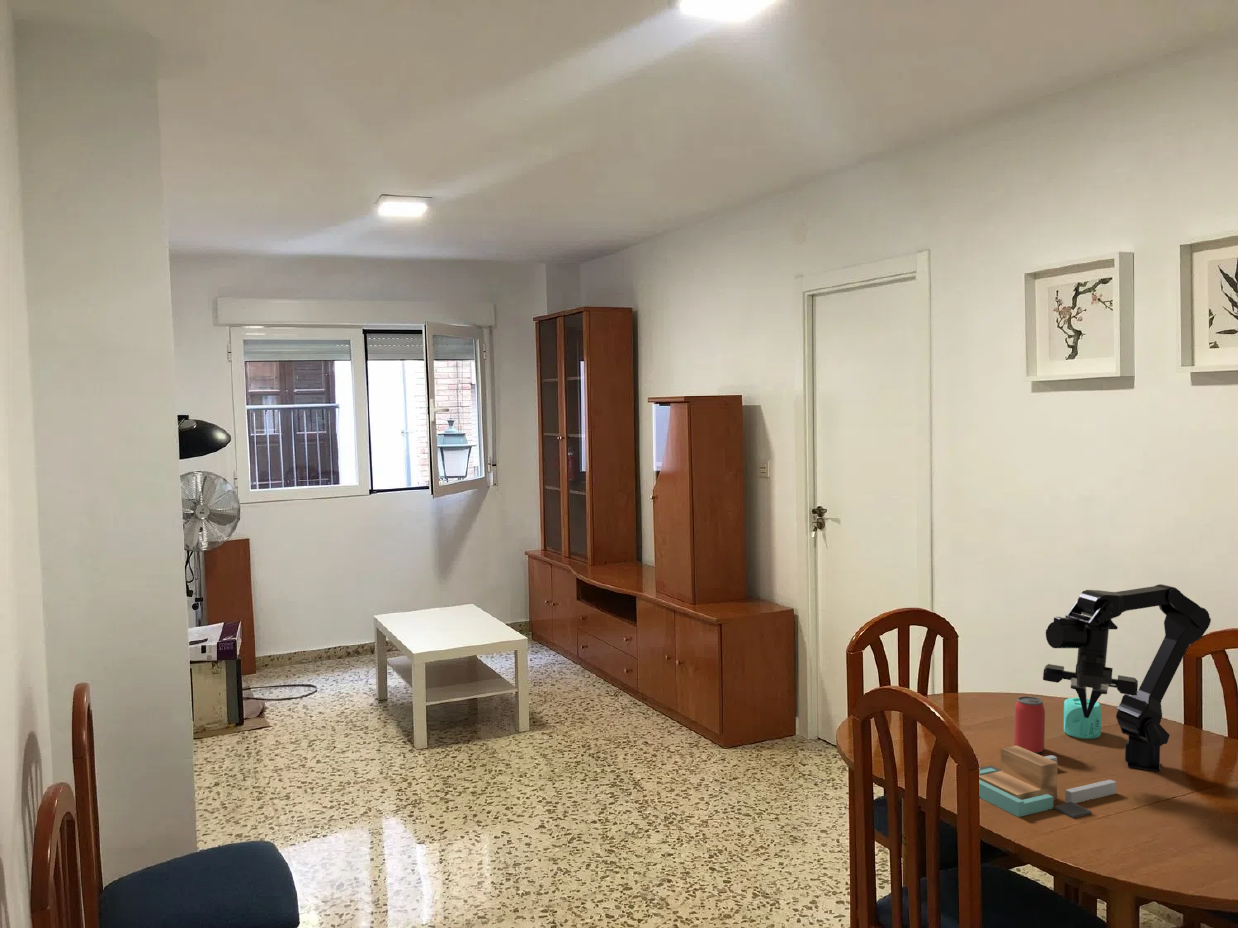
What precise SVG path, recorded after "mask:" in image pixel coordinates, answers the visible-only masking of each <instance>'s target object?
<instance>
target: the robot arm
mask: <svg viewBox="0 0 1238 928" xmlns="http://www.w3.org/2000/svg"><path fill="white" fill-rule="evenodd" d="M1153 607H1158V608H1159V610H1160V611H1161V612H1162V613H1163V614H1164V615H1165V617H1164V621H1163V627H1164V638H1163V640H1162V642H1161V644H1160V645H1159V648H1158V650H1157V652H1156V654H1155V655H1154V658H1153V660H1152V662H1151V664H1150V666H1149V668H1148V670H1147V672H1146V674H1145V676H1144V678H1143V680H1142V683H1141V684H1140V686H1139V684H1138V683H1139V682H1138V680H1137V678H1135V677H1130V676H1125V675H1120V674H1118V675H1117V678H1113V670H1114V669H1113V667H1107V665H1106V664H1107V653H1108V643H1109V642H1108V641H1109V631H1110V630H1118V628H1119V627H1118V626H1117V624H1115V622H1114V621H1113V620H1112V619H1115V618H1118V617H1120V616H1121V615H1122V614H1123V613H1125V612H1129V611H1133V610H1135V611H1136V610H1141V609H1147V608H1153ZM1211 621H1212V619H1211V617H1210V613H1209V611H1208V610H1207V609H1206V608H1204V607H1202V606H1200V605H1199V604H1198V603H1196V602H1194V600H1192V599H1190V598H1189V597H1187V595H1184V593H1182V592H1181V590H1179V588H1176V587H1175V586H1171V585H1170V586H1169V585H1166V584H1160V583H1159V584H1156V585H1153V586H1147V587H1141V588H1133V589H1126V590H1122V591H1120V590H1119V591H1107V590H1099V589H1098V590H1097V589H1086V590H1083V591H1081V592H1080V594H1079V596H1078V598H1077V600H1076V601H1075V602H1074V603H1073V605H1072V606H1071V608H1070V609H1069V610H1068V611H1067V613H1066V615H1065V617H1061V616H1054V617H1053V621H1052V622H1050V623H1049V624H1048V626H1047V628H1046V629H1045V638H1046V641H1047V644H1048V645H1049V647H1051V648H1053V649H1077V660H1076V665H1075V671H1069V670H1065V666H1063V665H1057V664H1051V663H1047V664H1046V665H1045V666H1044V668H1043V672H1042V673H1043V674H1042V680H1043V681H1045V682H1051V683H1057V684H1059V683H1060V682H1062V680H1067V681H1070V689H1072V690H1075V691H1076V693H1077V695H1078V698H1080V702H1081V706H1082V710H1083V714H1084V717H1085V718H1089V716H1090V714H1091V711H1092V709H1093V707H1094V705H1095V703H1096V701H1097V702H1098V700H1099V698H1100V697H1101V696H1102V695H1107V694H1108V689H1109V688H1116V690H1117V691H1118V692H1119V693H1120V694H1123V696H1122V698H1121V702H1120V703H1119V704H1118V706H1117V707H1116V710H1117V711H1116V715H1115V718H1116V721H1117V723H1118V725H1119V727H1120V730H1121V733H1122V734H1123V735H1126V736H1128V737H1127V738H1128V740H1125V743H1124V744H1125V745H1124V747H1125V749H1124V762H1125V763H1127V767H1128V768H1131V769H1132V768H1133V769H1139V770H1146V771H1151V772H1161V762H1160V761H1161V747H1162V746H1163V745H1167V744H1168V743H1169V738H1170V736H1171V735H1170V734H1169V732H1167V730H1166V729H1165V728H1164V727H1163V726H1162V725H1161V721H1162V719H1163V711H1162V700H1163V698H1164V697H1165V695H1166V693H1167V691H1168V688H1169V687H1170V684H1171V682H1172V680H1173V679H1174V676H1175V674H1176V673H1177V670H1178V668H1179V666H1180V664H1181V663H1182V659H1183V658H1184V656H1185V654H1186V652H1187V651H1188V650H1187V649H1188V648H1189V647H1190V646H1191V645H1192V644H1194V643H1195V642H1197V641H1198V640H1200V639H1201V638H1202V637H1203V636H1204V634H1205V632H1206V631H1207V630H1208V629H1209V627H1210V625H1211ZM1138 686H1139V687H1138ZM1087 688H1091V693H1090V696H1089V699H1090V701H1089V705H1088V709H1087V699H1088V698H1087V697H1088V696H1087Z"/></svg>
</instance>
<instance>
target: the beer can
mask: <svg viewBox="0 0 1238 928" xmlns="http://www.w3.org/2000/svg"><path fill="white" fill-rule="evenodd" d="M1043 702H1044V701H1043V700H1042V699H1041V698H1038V697H1034V696H1028V695H1027V696H1019V697H1018V698H1017V701H1016V703H1015V706H1014V738H1013V739H1014V741H1013V746H1016V745H1017V746H1019V747H1022V748H1024V749H1026V750H1029V751H1031V752H1034V753H1036V754H1039V753H1042V752H1043V751H1044V750H1045V728H1046V727H1045V725H1046V719H1045V718H1046V711H1045V710H1046V708H1045V706H1044V704H1043Z"/></svg>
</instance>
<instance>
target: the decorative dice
mask: <svg viewBox="0 0 1238 928" xmlns="http://www.w3.org/2000/svg"><path fill="white" fill-rule="evenodd" d="M1089 701H1090V698H1087V709H1088V705H1089ZM1063 732H1064V733H1065V734H1066V735H1068V736H1070V737H1073V738H1076V739H1081V740H1082V739H1084V740H1093V739H1094V740H1095V739H1097V738H1099V737H1100V736H1101V733H1102V707H1101V703H1099V702H1098V700H1097V701H1096V703H1095V705H1094V707H1093V709H1092V711H1091V714H1090V716H1089V718H1085V717H1084V714H1083V710H1082V706H1081V702H1080V698H1079V697H1069V698H1066V699H1065V700H1064V702H1063Z"/></svg>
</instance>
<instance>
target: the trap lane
mask: <svg viewBox="0 0 1238 928" xmlns="http://www.w3.org/2000/svg"><path fill="white" fill-rule="evenodd" d="M1044 757H1045V758H1048V759H1050V760H1053V761H1055V762H1057V763H1058V757H1057V756H1056V755H1052V754H1050V755H1045V756H1044ZM979 768H980V775H985V774H989V773H994V772H999V771H1001V768H998V767H996V766H994V765H991V764H990V765H986V766H980V767H979ZM979 784H980V799H982V800H984V801H986V802H988V803H990V804H991V805H993V806H994V807H997V808H999V809H1002V810H1003V811H1005V812H1008V814H1012V815H1014V816H1015V817H1017V818H1020V817H1024V816H1029V815H1032V814H1037V813H1042V812H1044V811H1049V810H1048V809H1050V810H1052V809H1053V810H1054V811H1057V812H1060V813H1062V814H1063V813H1064V815H1065V814H1066V816H1068V817H1070V818H1072V819H1076V818H1080V817H1084V816H1088V815H1092V813H1093V812H1092V810H1090V809H1087V808H1085V807H1083V806H1082V805H1080V804H1078V803H1082V802H1086V800H1087V801H1091V800H1096V799H1100V798H1103V797H1107V796H1112V795H1115V794H1117V781H1115V780H1112V779H1107V780H1102V781H1098V782H1094V783H1089V784H1085V785H1080V786H1076V787H1072V788H1067V789H1065V790H1064V792H1065V793H1064V794H1065V795H1064V796H1065V797H1064V798H1065V801H1064V802H1065V803H1061V804H1058V805H1054V800H1053V796H1051V795H1049V794H1045V795H1041V796H1037V797H1032V798H1028V799H1024V800H1021V799H1018V798H1016V797H1014V796H1012V795H1010V794H1008V793H1006V792H1004V791H1002V790H1000V789H998V788H996V787H994V786H992V785H990V784H987V783H985V782H983V781H981V780H979ZM1090 799H1091V800H1090Z"/></svg>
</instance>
